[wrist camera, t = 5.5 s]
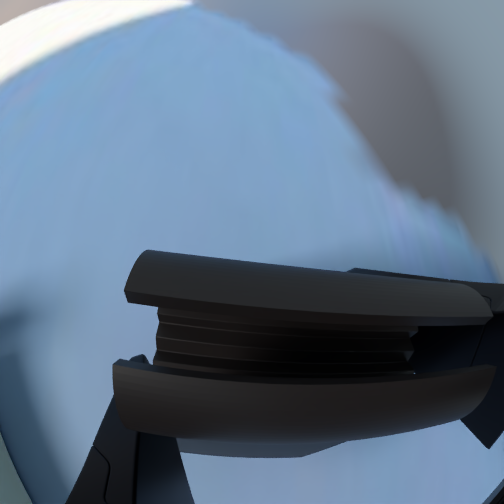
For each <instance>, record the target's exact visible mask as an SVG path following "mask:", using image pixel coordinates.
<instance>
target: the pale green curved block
mask: <svg viewBox="0 0 504 504" xmlns="http://www.w3.org/2000/svg"><path fill="white" fill-rule="evenodd" d="M0 504H33V503H32V501H31V499H30V498H29V496H28V494H27V492H26V490H25V488H24V486H23V484H22V482H21V480H20V478H19V476H18V474H17V472H16V469H15V467H14V465H13V463H12V460H11V458H10V456H9V453H8V451H7V449H6V446H5V444H4V441H3V438H2V436H1V433H0Z"/></svg>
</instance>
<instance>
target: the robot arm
mask: <svg viewBox="0 0 504 504" xmlns="http://www.w3.org/2000/svg"><path fill="white" fill-rule="evenodd" d="M347 272H349V273H359V274H368V275H378V276H388V277H398V278H408V279H418V280H428V281H438V282H448V283H459V284H464V285H467V286H469V287H471V288H473V289H474V290H476V291H477V292H478V293H479V294H480V295H481V296H482V297H483V298H484V299H485V301H486V302H487V304H488V306H489V307H490V309H491V311H492V314H493V316H494V317H492V318H491V319H490V320H489V321H488V322H487V323H485V324H484V325H454V326H418V332H417V333H416V334H414V335H413V336H412V337H411V338H410V340H411V343H412V345H413V348H414V352H413V354H412V355H411V357H410V359H409V360H408V363H409V364H410V365H411V366H412V367H413V369H414V370H415V371H414V373H415V374H418V373H428V372H437V371H445V370H452V369H459V368H466V367H472V366H478V365H484V364H488V365H492V366H497V368H496V372H495V375H494V378H493V381H492V384H491V386H490V388H489V390H488V392H487V394H486V395H485V397H484V399H483V400H482V401H481V403H480V404H479V405H478V406H477V407H476V408H475V409H474V410H473V411H472V412H471V413H469V414H468V415H467V416H465V417H463V418H461V419H460V420H461V421H462V422H463V423H464V424H465V425H466V427H467V428H468V429H469V430H470V431H471V432H472V433H473V434H474V435H475V436H476V437H477V438H478V439H479V440H480V441H481V443H482V444H483V445H484V446H485V447H486V448H488V449H490V448H491V446H492V445H493V444H494V443H495V442H496V440H497V439H498V438H499V437H500V435H501V434H502V433H503V431H504V284H498V283H480V282H468V281H458V280H448V279H442V278H433V277H425V276H417V275H409V274H401V273H393V272H385V271H377V270H368V269H360V268H353V269H351V270H349V271H347ZM129 361H134V362H139V363H145V364H149V362H148V360H147V358H146V356H145V355H143V354H141V355H138V356H135V357H132V358H131V359H130V360H129ZM65 504H195V503H194V500H193V497H192V494H191V490H190V487H189V484H188V480H187V477H186V473H185V470H184V466H183V463H182V459H181V455H180V451H179V447H178V443H177V439H176V438H175V437H168V436H162V435H155V434H150V433H144V432H139V431H134V430H129V429H127V428H126V427H124V425H123V424H122V422H121V420H120V418H119V415H118V412H117V408H116V403H115V398H114V395H113V398H112V400H111V402H110V404H109V407H108V409H107V411H106V414H105V416H104V418H103V421H102V423H101V425H100V428H99V430H98V432H97V435H96V437H95V440H94V442H93V446H92V447H91V449H90V452H89V454H88V457H87V459H86V461H85V464H84V466H83V468H82V471H81V473H80V475H79V477H78V479H77V481H76V483H75V485H74V487H73V489H72V491H71V493H70V495H69V497H68V499H67V501H66V503H65ZM482 504H504V479H503V480H502V482H501V483H500V484H499V485H498V486H497V488H496V489H495V490H494V491H493V492H492V493H491V494H490V496H489V497H488V498H487V499H486V500H485V501H484V502H483V503H482Z"/></svg>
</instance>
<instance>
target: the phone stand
mask: <svg viewBox="0 0 504 504" xmlns="http://www.w3.org/2000/svg"><path fill="white" fill-rule="evenodd" d="M124 292H125V295H126V298H127V301H128V303H135V304H141V305H148V306H155V307H158V312H157V315H158V319H159V325H158V330H157V334H156V346H157V351H156V353H155V356H154V359H153V365H151V364H145V363H139V362H134V361H128V360H123V359H119V360H117V361H116V362H115V363H114V364H113V389H114V398H115V403H116V408H117V412H118V415H119V418H120V420H121V422H122V424H123V425H124V427H126V428H127V429H129V430H134V431H139V432H144V433H150V434H155V435H162V436H168V437H175V438H176V439H177V443H178V447H179V451H180V452H184V453H193V454H202V455H213V456H226V457H247V458H292V457H303V456H306V455H309V454H313V453H316V452H319V451H321V450H324V449H327V448H330V447H333V446H336V445H338V444H341V443H344V442H346V441H351V440H360V439H368V438H375V437H382V436H388V435H394V434H399V433H405V432H410V431H415V430H419V429H424V428H428V427H433V426H437V425H441V424H445V423H448V422H452V421H456V420H459V419H461V418H463V417H465V416H467V415H468V414H469V413H471V412H472V411H473V410H474V409H475V408H476V407H477V406H478V405H479V404H480V403H481V401H482V400H483V399H484V397H485V395H486V394H487V392H488V390H489V388H490V386H491V384H492V381H493V378H494V375H495V372H496V368H497V366H492V365H488V364H484V365H478V366H472V367H466V368H459V369H452V370H445V371H437V372H428V373H418V374H414V371H415V370H414V369H413V367H412V366H411V365H410V364H409V363H408V360H409V359H410V357H411V355H412V354H413V352H414V348H413V345H412V343H411V340H410V338H411V337H412V336H413V335H414V334H416V333H417V332H418V326H454V325H484V324H485V323H487V322H488V321H489V320H490V319H491V318H492V317H494V316H493V314H492V311H491V309H490V307H489V306H488V304H487V302H486V301H485V299H484V298H483V297H482V296H481V295H480V294H479V293H478V292H477V291H476V290H474V289H473V288H471V287H469V286H467V285H464V284H459V283H448V282H438V281H428V280H418V279H408V278H398V277H388V276H378V275H368V274H359V273H349V272H340V271H330V270H321V269H312V268H303V267H293V266H284V265H275V264H266V263H258V262H249V261H240V260H231V259H222V258H214V257H205V256H197V255H188V254H180V253H171V252H163V251H155V250H146V251H144V252H143V253H142V254H141V255H140V256H139V257H138V259H137V260H136V262H135V264H134V266H133V268H132V270H131V272H130V274H129V277H128V280H127V282H126V285H125V288H124Z"/></svg>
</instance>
